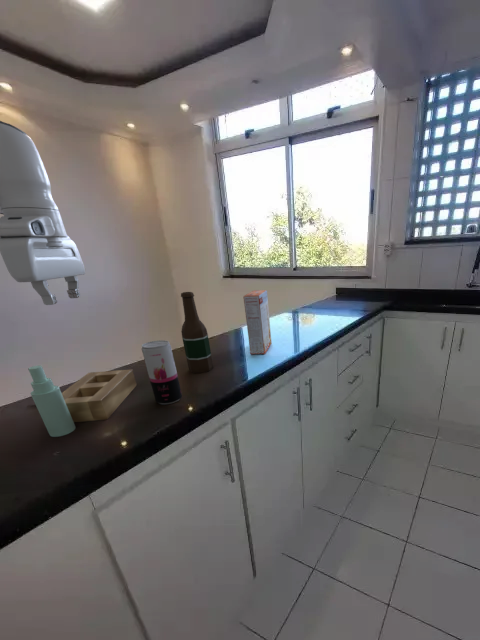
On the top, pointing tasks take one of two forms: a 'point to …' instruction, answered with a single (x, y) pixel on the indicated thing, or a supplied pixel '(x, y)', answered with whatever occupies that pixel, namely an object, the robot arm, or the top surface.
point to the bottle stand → (98, 394)
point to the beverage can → (162, 371)
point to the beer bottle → (195, 337)
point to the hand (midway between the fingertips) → (64, 301)
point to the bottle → (50, 404)
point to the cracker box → (257, 321)
